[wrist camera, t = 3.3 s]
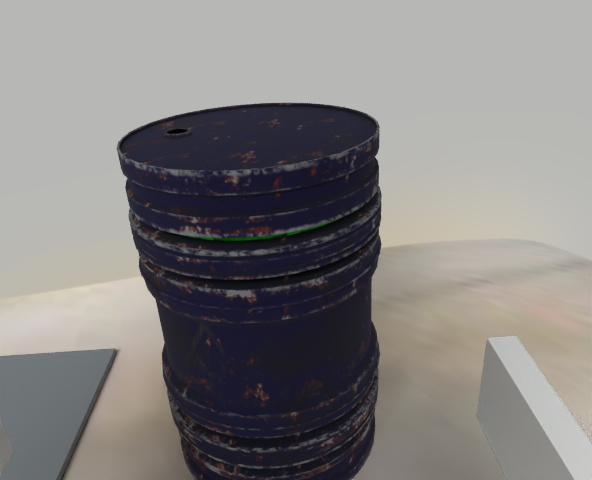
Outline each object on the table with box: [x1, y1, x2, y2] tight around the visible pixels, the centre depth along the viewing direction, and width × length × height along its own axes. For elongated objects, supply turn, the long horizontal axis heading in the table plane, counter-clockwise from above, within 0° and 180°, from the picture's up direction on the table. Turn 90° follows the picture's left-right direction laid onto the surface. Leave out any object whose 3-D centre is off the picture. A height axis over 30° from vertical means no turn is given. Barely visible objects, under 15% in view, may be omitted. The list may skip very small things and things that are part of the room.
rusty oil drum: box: [117, 103, 381, 480], centre depth 23 cm, size 10×10×15 cm
